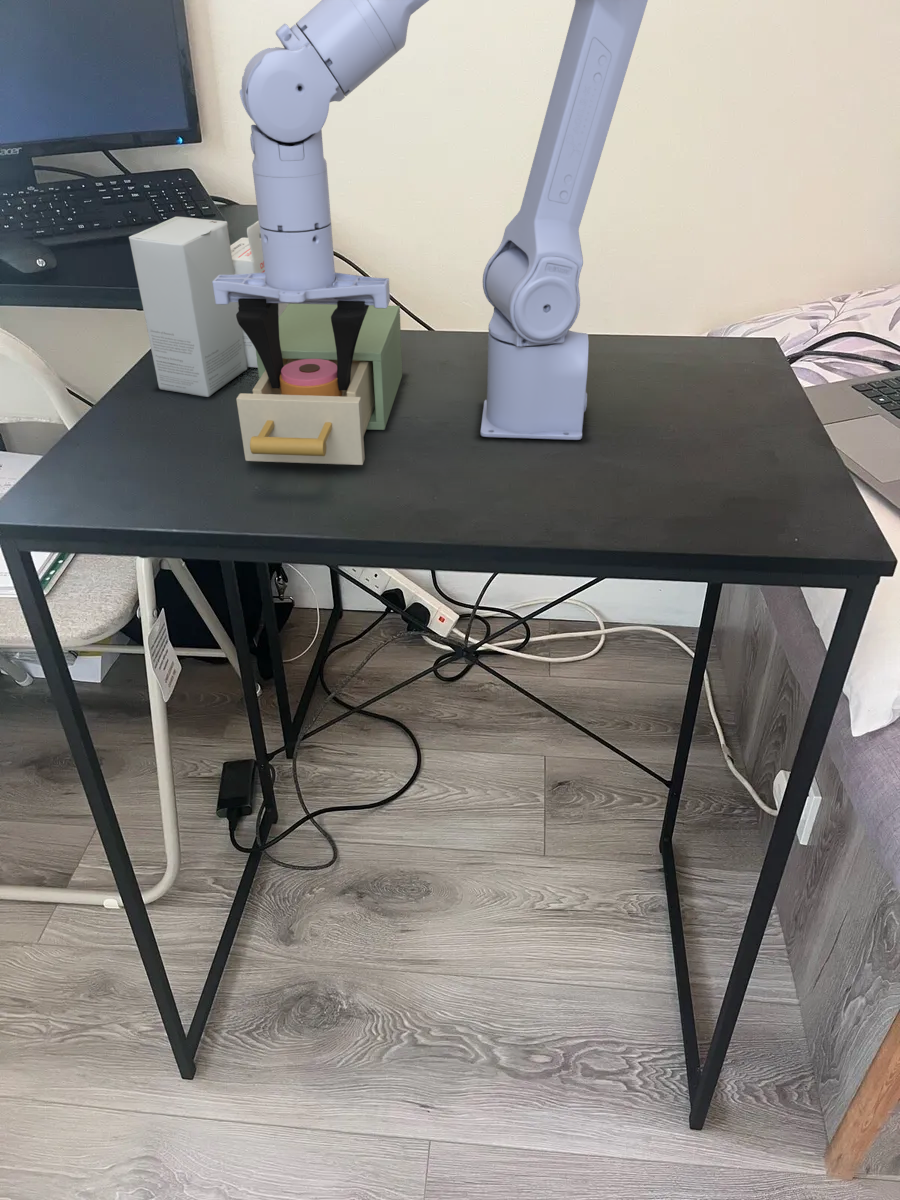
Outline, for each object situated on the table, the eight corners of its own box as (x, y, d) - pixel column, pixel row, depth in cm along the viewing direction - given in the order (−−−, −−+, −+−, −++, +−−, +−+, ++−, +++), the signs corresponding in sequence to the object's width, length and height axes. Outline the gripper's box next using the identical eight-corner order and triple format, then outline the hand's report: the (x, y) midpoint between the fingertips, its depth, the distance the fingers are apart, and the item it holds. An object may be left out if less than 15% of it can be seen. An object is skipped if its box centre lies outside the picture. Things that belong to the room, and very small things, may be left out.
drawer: (353, 492, 75) (348, 427, 71) (229, 487, 75) (219, 423, 72) (383, 406, 89) (380, 349, 85) (278, 403, 89) (271, 346, 86)
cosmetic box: (200, 362, 101) (175, 214, 92) (252, 370, 99) (232, 219, 90) (155, 390, 94) (123, 234, 85) (210, 399, 92) (183, 240, 83)
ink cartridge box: (254, 340, 107) (237, 207, 98) (294, 342, 106) (280, 209, 97) (225, 366, 100) (204, 226, 91) (268, 370, 99) (250, 228, 90)
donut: (347, 389, 83) (345, 357, 81) (336, 413, 79) (334, 380, 77) (289, 387, 83) (286, 355, 82) (275, 411, 79) (271, 378, 77)
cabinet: (384, 430, 86) (380, 353, 82) (265, 426, 87) (255, 349, 83) (402, 376, 97) (399, 305, 93) (296, 373, 98) (288, 302, 94)
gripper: (191, 234, 70) (218, 400, 78) (377, 238, 69) (385, 405, 77) (217, 213, 75) (240, 369, 83) (390, 216, 74) (396, 374, 82)
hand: (311, 385), depth 80 cm, fingers closed on donut, 5 cm apart
